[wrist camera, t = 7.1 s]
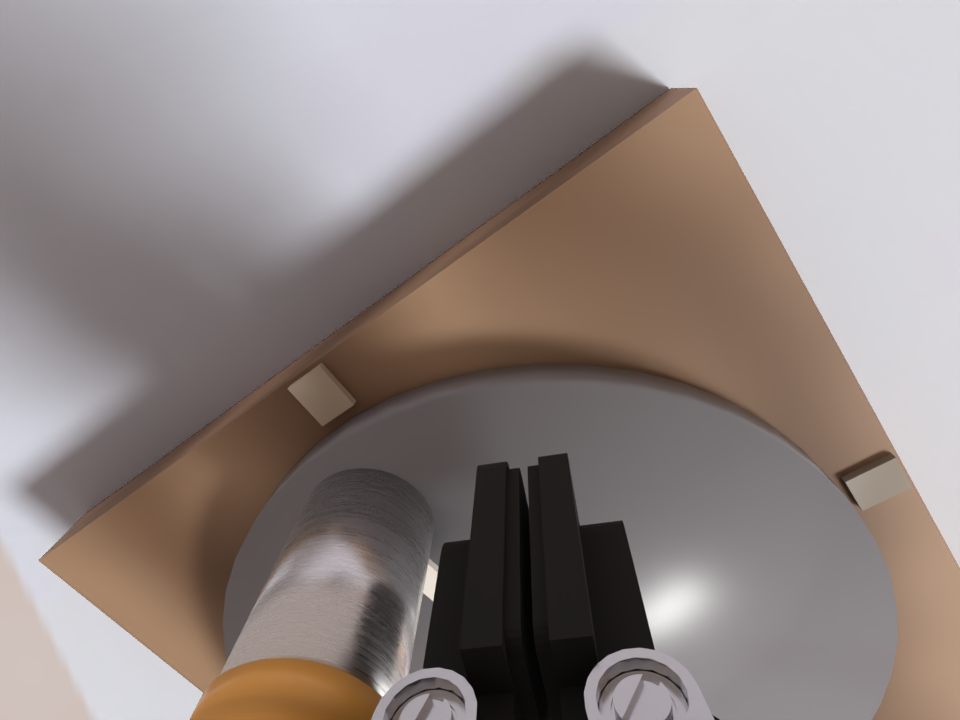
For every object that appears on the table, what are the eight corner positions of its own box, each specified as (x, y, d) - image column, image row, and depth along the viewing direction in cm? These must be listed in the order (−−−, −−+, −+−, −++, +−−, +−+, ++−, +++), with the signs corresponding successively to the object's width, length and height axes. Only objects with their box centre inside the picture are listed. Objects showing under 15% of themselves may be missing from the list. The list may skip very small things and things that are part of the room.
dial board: (475, 847, 25) (471, 914, 23) (85, 514, 19) (33, 565, 17) (987, 652, 19) (1043, 718, 17) (670, 88, 13) (699, 87, 11)
